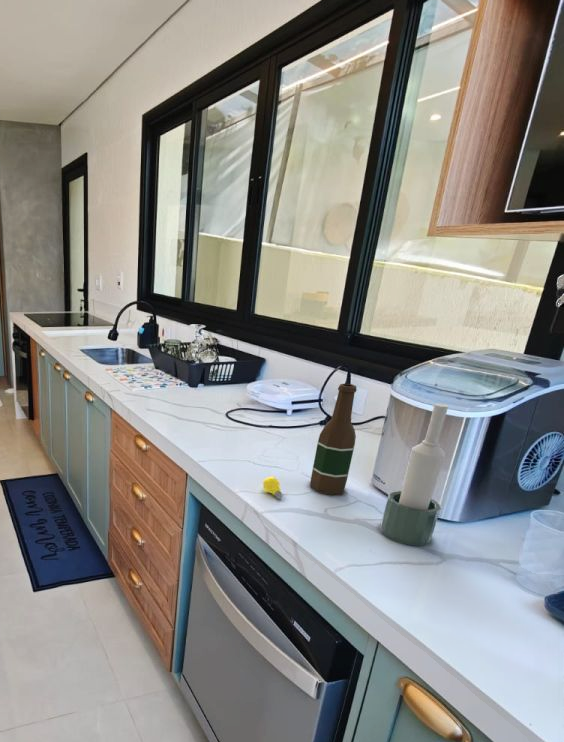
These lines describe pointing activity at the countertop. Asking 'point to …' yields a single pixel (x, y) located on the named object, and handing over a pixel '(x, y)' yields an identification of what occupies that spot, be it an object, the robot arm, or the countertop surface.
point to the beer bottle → (335, 446)
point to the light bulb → (272, 486)
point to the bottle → (424, 464)
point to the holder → (409, 521)
